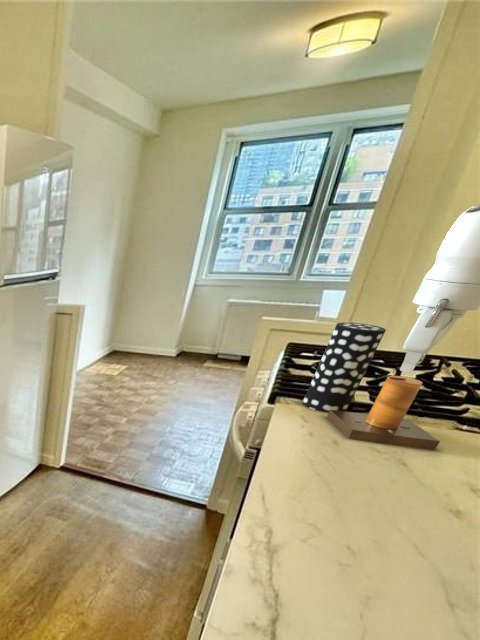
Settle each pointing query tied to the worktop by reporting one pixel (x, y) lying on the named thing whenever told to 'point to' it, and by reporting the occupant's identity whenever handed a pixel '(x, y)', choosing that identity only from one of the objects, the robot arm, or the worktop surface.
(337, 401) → the spotted tube
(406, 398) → the orange ribbed cylinder
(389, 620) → the worktop surface
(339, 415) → the brown flat wooden slab
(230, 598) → the worktop surface
